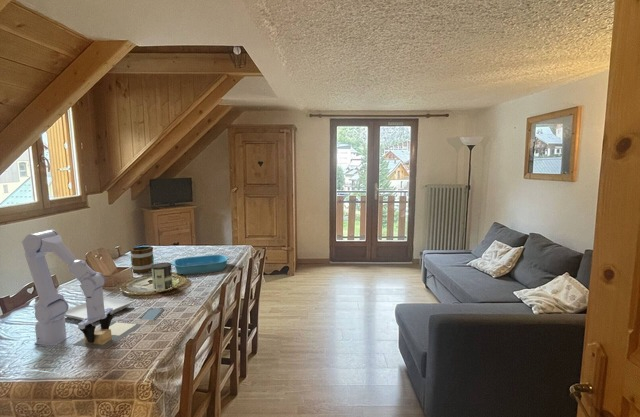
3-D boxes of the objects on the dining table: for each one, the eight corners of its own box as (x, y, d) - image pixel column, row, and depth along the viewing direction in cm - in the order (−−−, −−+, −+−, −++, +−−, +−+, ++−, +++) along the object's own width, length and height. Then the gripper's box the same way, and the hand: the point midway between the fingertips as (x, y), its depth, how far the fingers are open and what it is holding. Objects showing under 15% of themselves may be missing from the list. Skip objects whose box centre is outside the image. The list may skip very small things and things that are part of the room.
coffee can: (170, 284, 198) (169, 261, 196) (174, 290, 189) (173, 265, 187) (151, 288, 192) (149, 264, 190) (154, 293, 184) (152, 268, 182)
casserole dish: (226, 262, 244) (226, 252, 243) (232, 270, 224) (232, 260, 223) (171, 268, 228) (170, 258, 228) (171, 278, 208) (171, 267, 207)
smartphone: (134, 323, 149) (148, 308, 164) (134, 325, 149) (148, 310, 164) (152, 322, 149) (164, 308, 164) (152, 324, 150) (164, 309, 164)
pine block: (85, 342, 132) (84, 333, 132) (94, 337, 137) (93, 327, 136) (102, 344, 131) (101, 335, 131) (111, 338, 135) (111, 329, 135)
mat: (72, 346, 131) (72, 344, 131) (112, 322, 150) (112, 321, 150) (106, 349, 128) (106, 348, 128) (142, 325, 148) (142, 324, 148)
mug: (153, 272, 220) (151, 249, 219) (129, 274, 216) (128, 251, 214) (156, 263, 239) (154, 243, 237) (134, 266, 234) (133, 244, 232)
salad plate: (59, 319, 154) (58, 312, 154) (103, 301, 174) (102, 295, 174) (92, 327, 147) (91, 319, 146) (134, 307, 167) (133, 301, 166)
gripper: (88, 313, 124) (91, 348, 126) (118, 298, 138) (120, 329, 140) (71, 312, 126) (75, 346, 127) (103, 297, 140) (106, 328, 141)
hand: (98, 337), depth 134 cm, fingers open, 6 cm apart
